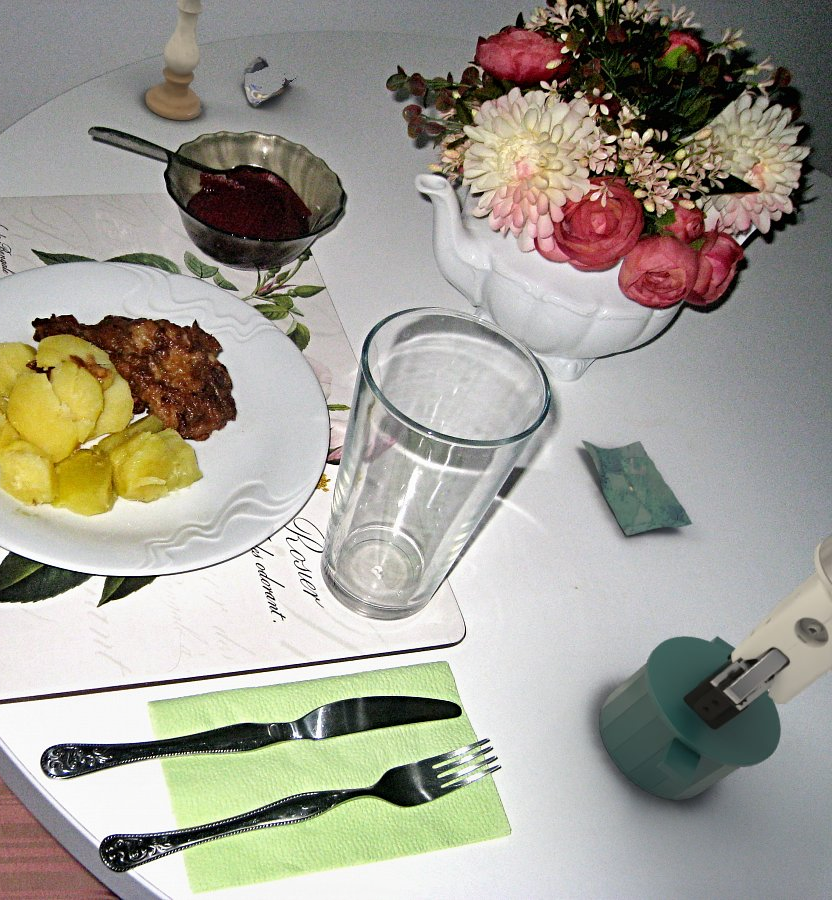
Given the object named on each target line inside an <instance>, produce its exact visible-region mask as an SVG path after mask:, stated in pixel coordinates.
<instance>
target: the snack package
mask: <svg viewBox="0 0 832 900" xmlns="http://www.w3.org/2000/svg"><path fill="white" fill-rule="evenodd" d="M248 64H249V65H248ZM248 64H247V66H246V67H245V69H244V73H245V74H246V73H254V72H256V71H259V70H262V69H266V68H269V69H271V67H269V63H268V61H267V58H266V57H264V56H263V57H261V56H260V55H259V56H257V57H256V58H254V59H253V60H252V61H250V62H248ZM285 74H286V73H284V75H285ZM295 79H296V78H295ZM284 80H285V82H284V84H282V86H283V87H282V88H280V89H279V90H278V91H276V92H273V93H272V94H271V95H270V94H269V95H268V91H267V92H266V91H265V92H264V89H263V90H262V87H260V88H259V87H257V86H254V85H252V84H251V86H250V85H249V87H245V86H244V90H245V92H246V97H247V99H248V102H249V103H250V104H251V105H252V106H253V108H257V107H258V106H259V105H260V104H262V103H260V104H257V103H259V101H260V100H261V99H265V100H263V102H264V101H267V100H269V99H271V98H270V97H271V96H274V97H276V96H275V95H277V96H279V95H281V94H283V92H284V91H285V90H286V89H287V88H288V87H289V86H290V85H289V83H290V82H292V81H293V80H294V79H293V80H287V79H286V78H285V79H284ZM284 80H282V81H284ZM296 80H297V79H296ZM292 83H293V82H292ZM290 84H291V83H290ZM288 85H289V86H288ZM285 88H286V89H285ZM284 89H285V90H284ZM280 93H281V94H280ZM278 94H279V95H278ZM268 98H269V99H268ZM254 102H255V103H254Z"/></svg>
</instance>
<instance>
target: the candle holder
mask: <svg viewBox="0 0 832 900" xmlns="http://www.w3.org/2000/svg"><path fill="white" fill-rule="evenodd" d="M175 6H176V8H177V9H178V16H177V21H176V27H175V29H174V32H173V33H172V35H171V37H169V39H168V41H167V42H166V44H165V46H164V49H163V53H162V54H163V55H162V57H163V61H164V63H165V65H166V66H165V67H164V68H163V70H162V75H163V77H164V80H165V82H159V83H157V84H156V85H155V86H153V87H151V88H150V89H148V90H147V91H146V94H145V104H146V106H147V107H148V109H149V110H150V111H152V113H155V114H156V115H159V116H160V117H163V118H166V119H169V120H175V121H189V120H193V119H195V118H197V117H199V116H200V114H201V113H202V110H203V107H202V108H201V110H200V111H198V112H197V113H194V112H195V111H197V110H198V109H199V108H200V107H199V106H200V101H199V99H200V97H199V96H197V94H196V92H195V91H194V90H193V88H190V87H189V86H190V85H191V83H192V82H193V81H194V80H195V74H194V71H195V70H196V68H197V67H198V66H199V64H200V60H201V53H200V47H199V44H198V39H197V25H198V19H199V15H201V14H202V13H203V12H204V8H203V5H202V2H201V0H178V1H177V2H176V4H175ZM191 113H194V114H191ZM188 114H191V115H188Z"/></svg>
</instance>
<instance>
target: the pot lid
mask: <svg viewBox="0 0 832 900" xmlns="http://www.w3.org/2000/svg"><path fill="white" fill-rule="evenodd" d="M730 654H731V652H729V651H728V650H726V649H724V648H723V647H721V646H719V645H717V644H715V643H712V642H711V640H706V639H704V638H700V637H695V636H688V635H687V636H686V635H683V636H682V635H681V636H674V637H670V638H668V639H666V640H663V641H662V642H660V643H659V644H657V646H655V648H654V649H653V650H652V651H651V652H650V654H649V655H648V658H647V661H646V663H645V664H646V669H645V680H646V686H647V690H648V694H649V696H650V699H651V702H652V704H653V706H654V708H655V710H656V711H657V713H658V714H659V716H660V718H661V719H662V720H663V722H664V723H665V724H666V726H667V727H668V728H669V729H670V730H671V731H672V733H673V734H674V735H675V736H676V737H677V738H678V739H680V740H681V741H682V742H683V743H684V744H685V745H687V746H688V747H689V748H690V749H692V750H693V751H695V752H696V753H698V754H700V755H701V756H703V757H705V758H707V759H709V760H711V761H714V762H716V763H719V764H723V765H726V766H732V767H740V768H749V767H754V766H756V765H759V764H761V763H763V762H765V761H766V760H768V759H770V757H771V756H772V755H773V754H774V753H775V752H776V750H777V748H778V746H779V743H780V740H781V733H782V731H781V729H782V726H781V720H780V719H781V718H780V715H779V712H778V711H779V710H778V709H777V705H776V703H775V702H774V700H772V699H771V698H770V697H769V696H768V693H769V689H768V690H766V691H765V692H764V693H762V694H761V695H760V696H758V697H757V698H756V699H755V700H753V701H752V702H751V703H749V704H748V707H747V708H746V709H745V710H744V711H743V712H741V713H740V714H738V715H737V716H735V717H734V718H732V719H731V720H730V721H728V722H727V723H725V724H724V725H722V726H721V727H720V728H718V729H716V730H714V729H712V728H710V727H709V726H708V725H707V724H706V723H705V722H704V721H703V720H702V719H701V718H700V717H699V716H698V715H697V714H696V713H695V712H694V711H693V710H692V709H691V708H690V707H689V706H688V705H687V704H686V703H685V702H684V699H683V698H684V697H685V696H686V695H687V694H688V693H689V692H690V691H692V690H693V689H694V688H696V687H697V686H698V685H699V684H701V683H702V682H703V681H705V680H706V679H707V678H708V677H710V676H711V675H712V674H714V673H715V674H716V675H719V674H720V673H721V672H722V671H724V670H725V669H726V668H727V667H728V666H730V665H731V664H732V663H733V662H732V658H731V659H730V660H728V659H727V657H728V655H730ZM749 661H750V662H751V663H752V664H755V663H756V662H757V661H758V660H757V659H749ZM743 673H744V672H743V671H742V670H741V669H740V668H739V669H738V670H737V671H736V672H734V673H733V674H732V675H731V676H729V677H728V678H730V679H731V680H732V681H733V680H735V679H737V678H738V677H739V676H740V675H742V674H743ZM773 676H774V675H772V676H770V677H769V678H768V679H770V678H771V677H773Z"/></svg>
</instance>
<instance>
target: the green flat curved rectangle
mask: <svg viewBox="0 0 832 900" xmlns="http://www.w3.org/2000/svg"><path fill="white" fill-rule="evenodd" d="M581 443H582V444H583V446H584V448H585V449H586V451H587V453H588V454H589V455H590V457H591V459H592V461H593V463H594V465H595V468H596V471H597V475H598V477H599V481H600V484H601V489H602V493H603V496H604V498H605V500H606V501H607V503H608V504H609V506H610V508H611V510H612V512H613V514H614V516H615V519H616V521H617V523H618V525H619V526H620V527H621V529H622V531H623V532H624V534H625V535H626V536H633V535H636V534H639V533H642V532H647V531H650V530H655V529H659V528H682V527H687V526H690V525H693V522H692V520H691V519H690V517H689V515H688V513H687V512H686V509H685V508H684V507H683V505H682V503H680V501H679V499H678V498H677V497H676V494H675V493H674V491H673V490H672V488H671V487H670V486H669V485H668V484H667V482H666V481H665V479H664V478H663V476H662V473H661V472H660V470H658V468H657V466H656V464H655V462H654V460H652V458H651V457H650V456H649V455H648V453H647V451H646V449H645V447H644V445H643V444H642V441H640V440H638V441H633V442H631V443H629V444H625V445H622V446H619V447H614V448H605V447H600V446H597V445H595V444H593V443H591V442H589V441H587V440H583V439H581Z"/></svg>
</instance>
